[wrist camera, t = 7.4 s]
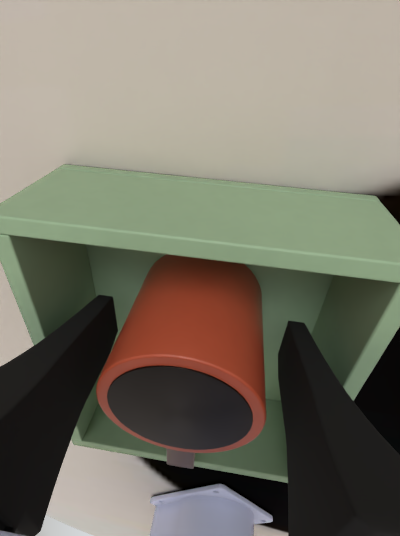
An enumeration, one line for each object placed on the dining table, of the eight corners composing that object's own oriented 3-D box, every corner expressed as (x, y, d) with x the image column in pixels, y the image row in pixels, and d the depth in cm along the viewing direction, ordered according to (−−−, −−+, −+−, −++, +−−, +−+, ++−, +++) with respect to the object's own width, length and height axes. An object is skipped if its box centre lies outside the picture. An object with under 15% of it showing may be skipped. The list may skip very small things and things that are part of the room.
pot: (141, 239, 13) (80, 343, 8) (272, 254, 12) (283, 374, 8) (150, 364, 18) (114, 474, 13) (243, 379, 17) (240, 497, 13)
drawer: (291, 401, 19) (301, 485, 15) (106, 371, 20) (72, 445, 16) (376, 195, 11) (438, 268, 7) (63, 163, 12) (-20, 214, 8)
